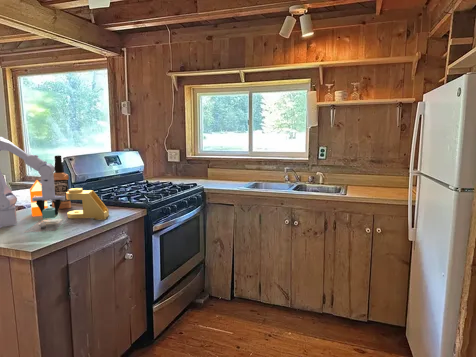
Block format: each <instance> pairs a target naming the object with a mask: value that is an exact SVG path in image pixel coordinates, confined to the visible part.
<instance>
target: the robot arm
mask: <svg viewBox="0 0 476 357" xmlns="http://www.w3.org/2000/svg"><path fill="white" fill-rule="evenodd" d="M1 151H7V152H9V153H11V154H13V155H15V156H17V157H18V158H20V159H22V160H23V161H24V164H25V165H27V166H29V167H30V168H31V169H33V170H35V171H36V172H38V174H39V175H40V183H41V187H42V197H33V198H32V202H35V201H37V203H36V204H37V206H38V207H39V209H40V211H41V213H42V210H44V209H45V208H44V204H45V201H47V202H49V201H51V202H52V201H54V200H55V201H54V205H55V215H57V214H58V215H59V211H60V209H59V206H60V204H61V202H62V200H65V196H55V185H54V174H53V173H54V172H55V168H54V166H55V165H53V164H52V163H49V162H48V161H46V160H43V159H41V158H39V155H38V154H29V153H27V152H25V151H24V150H23V149H21V148H20V147H18V146H17V145H16V144H15V143H13V142H11V140H9V139H6V138H5V137H3V136H0V152H1ZM3 175H4V174H3V173H2V170H1V169H0V229H1V228H3V227H12V226H15V225H17V224H18V220H17V210H16V207H17V206H16V204H17V203H18V198H17V196H16V195H15V194H14V192H12V190H11V189H10V188H9V186H8V184H7V182H6V180H5V177H4V176H3ZM58 215H57V216H58Z"/></svg>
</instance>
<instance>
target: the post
mask: <svg viewBox="0 0 476 357" xmlns="http://www.w3.org/2000/svg"><path fill="white" fill-rule="evenodd" d="M40 226H41V229H45V228H46V221H43V222H40Z"/></svg>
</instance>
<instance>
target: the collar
mask: <svg viewBox="0 0 476 357" xmlns="http://www.w3.org/2000/svg"><path fill="white" fill-rule="evenodd" d="M57 216H59V213H58V214H57V215H55V208H52V207H48V208H45V209H44V210H42V219H56V217H57Z"/></svg>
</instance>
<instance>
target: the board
mask: <svg viewBox="0 0 476 357" xmlns="http://www.w3.org/2000/svg"><path fill="white" fill-rule="evenodd" d="M62 219H63V220H62V221H61V222H60V223H58V224H49V225H46V228H45V229H41V226H40V225H38V224H39V223H40V222H42V221H43V220H44V219H42V220H38V221H36V223H34V224H33V225H31V226H30V227H29V228H28V229H27V230H25V231H24V232H23V233H24V234H25V233H39V232H56V231H57V230H58V229H59V228H60V227H61V226H62V225H63V224H64V223H65V222H66V221H67V219H68V218H67V219H66V218H65V219H64V218H62Z"/></svg>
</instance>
